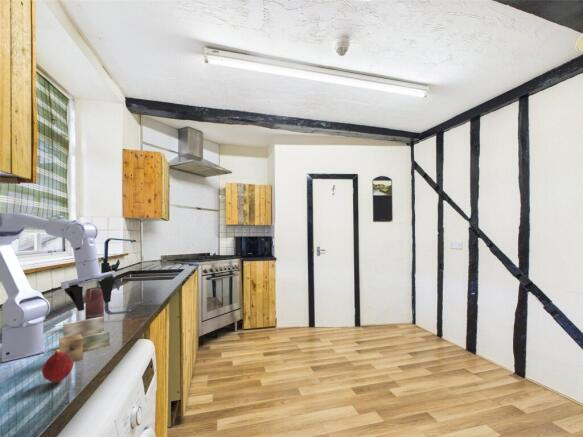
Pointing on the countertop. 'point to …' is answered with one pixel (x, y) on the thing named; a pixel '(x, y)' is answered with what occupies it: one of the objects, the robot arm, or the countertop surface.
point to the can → (94, 303)
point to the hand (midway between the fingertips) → (94, 306)
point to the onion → (57, 367)
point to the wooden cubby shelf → (89, 332)
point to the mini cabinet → (72, 346)
